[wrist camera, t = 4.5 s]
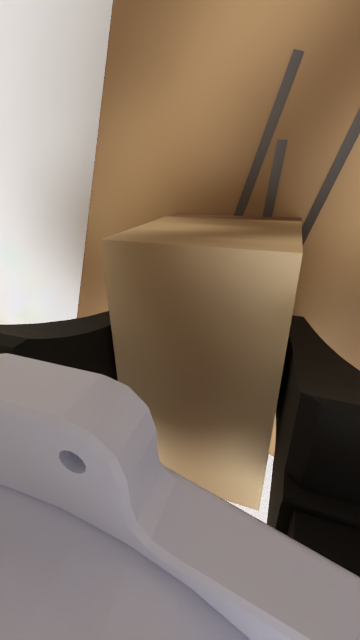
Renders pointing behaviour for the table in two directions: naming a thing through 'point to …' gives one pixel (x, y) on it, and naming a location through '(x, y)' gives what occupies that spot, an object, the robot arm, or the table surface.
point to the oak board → (236, 137)
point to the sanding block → (206, 338)
